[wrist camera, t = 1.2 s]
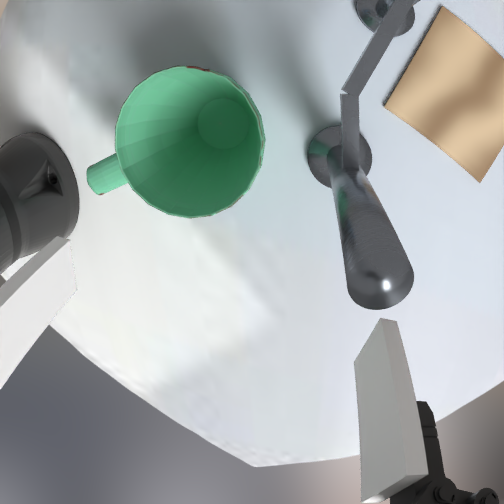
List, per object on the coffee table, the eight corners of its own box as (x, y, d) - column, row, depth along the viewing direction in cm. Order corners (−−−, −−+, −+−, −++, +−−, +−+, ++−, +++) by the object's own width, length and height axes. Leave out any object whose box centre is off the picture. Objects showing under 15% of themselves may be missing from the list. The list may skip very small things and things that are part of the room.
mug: (257, 54, 23) (229, 39, 15) (294, 158, 28) (285, 195, 19) (118, 115, 28) (50, 136, 19) (154, 202, 32) (102, 249, 23)
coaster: (383, 106, 24) (384, 107, 23) (441, 6, 18) (442, 6, 17) (478, 181, 25) (480, 182, 24) (530, 90, 19) (532, 90, 18)
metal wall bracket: (269, 153, 28) (203, 268, 11) (370, -24, 18) (444, -143, 2) (349, 198, 28) (388, 358, 12) (451, 29, 19) (604, 3, 2)
